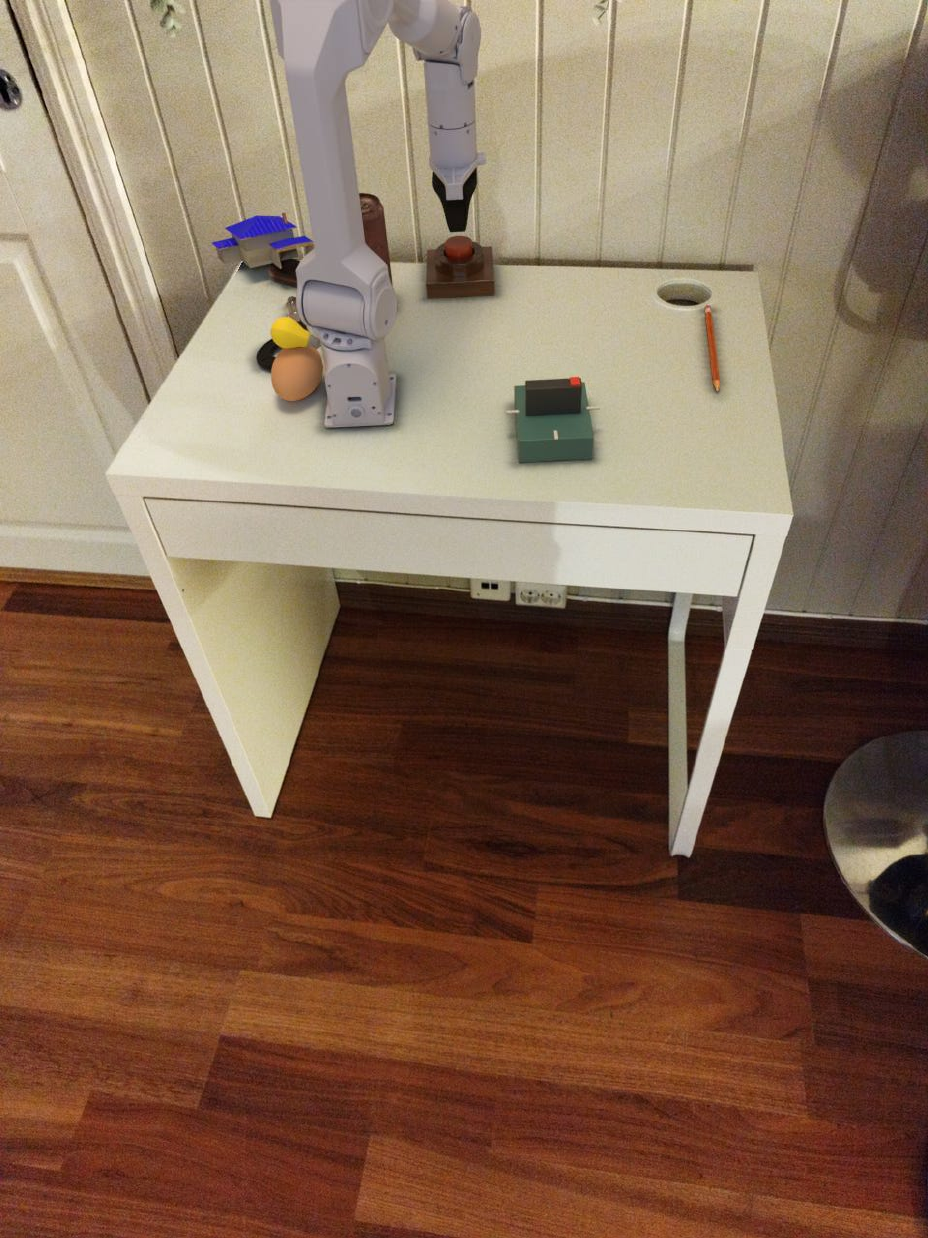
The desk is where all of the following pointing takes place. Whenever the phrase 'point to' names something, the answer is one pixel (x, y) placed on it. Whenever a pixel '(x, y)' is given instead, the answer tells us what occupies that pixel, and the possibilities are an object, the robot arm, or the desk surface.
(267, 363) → the micrometer
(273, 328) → the light bulb
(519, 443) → the panel
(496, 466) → the desk surface
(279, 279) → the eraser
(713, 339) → the pencil
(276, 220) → the house
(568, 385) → the battery with red terminal
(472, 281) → the button block
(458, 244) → the button
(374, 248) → the can
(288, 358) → the egg
